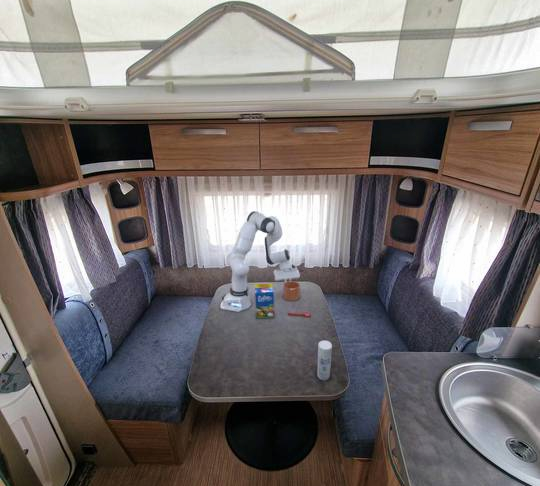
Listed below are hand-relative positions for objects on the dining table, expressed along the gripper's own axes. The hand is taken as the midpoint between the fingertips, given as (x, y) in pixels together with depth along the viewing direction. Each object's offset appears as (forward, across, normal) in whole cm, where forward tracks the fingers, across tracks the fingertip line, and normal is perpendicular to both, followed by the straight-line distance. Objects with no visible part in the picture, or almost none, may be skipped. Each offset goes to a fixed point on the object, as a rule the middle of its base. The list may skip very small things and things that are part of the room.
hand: (288, 284), depth 222 cm
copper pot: (+10, 0, -2) cm, 10 cm away
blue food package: (+24, -24, -16) cm, 38 cm away
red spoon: (+28, -2, -20) cm, 34 cm away
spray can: (+59, -5, -65) cm, 88 cm away
